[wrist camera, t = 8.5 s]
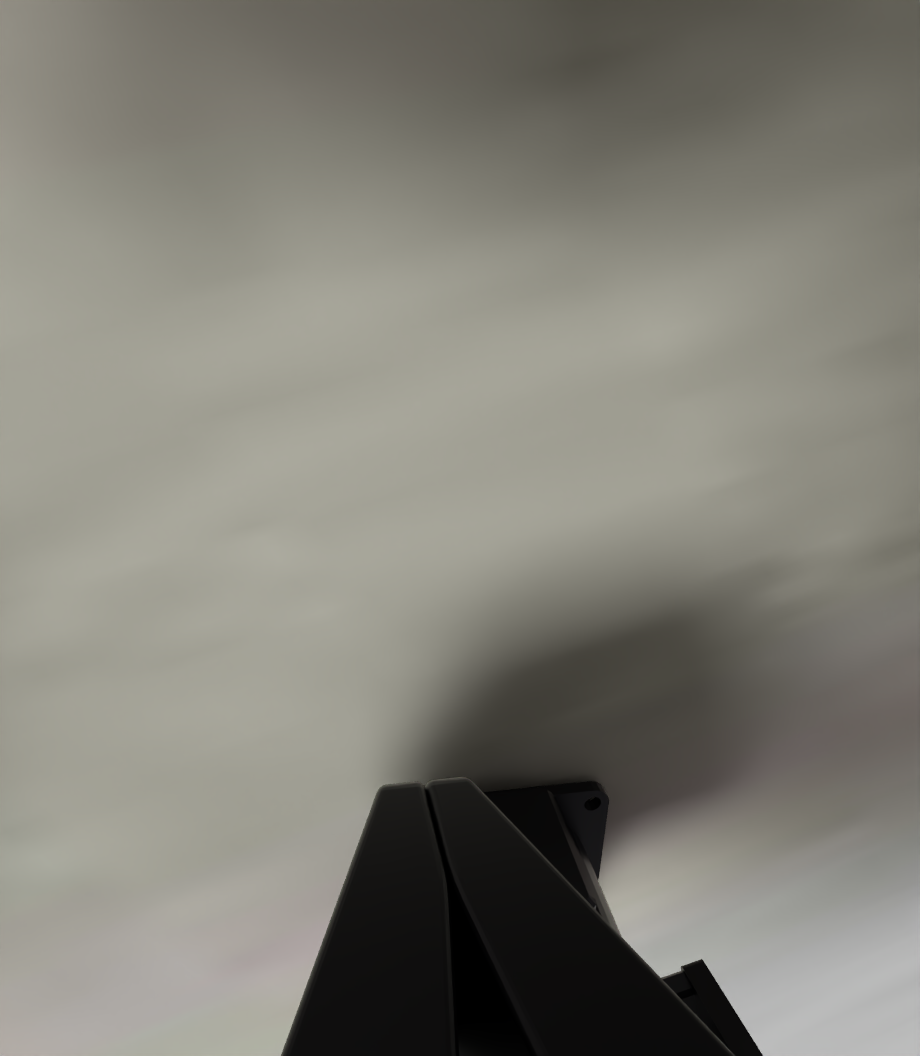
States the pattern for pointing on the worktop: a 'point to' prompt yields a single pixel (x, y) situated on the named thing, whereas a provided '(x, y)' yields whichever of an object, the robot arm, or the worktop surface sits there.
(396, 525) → the worktop surface
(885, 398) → the worktop surface
